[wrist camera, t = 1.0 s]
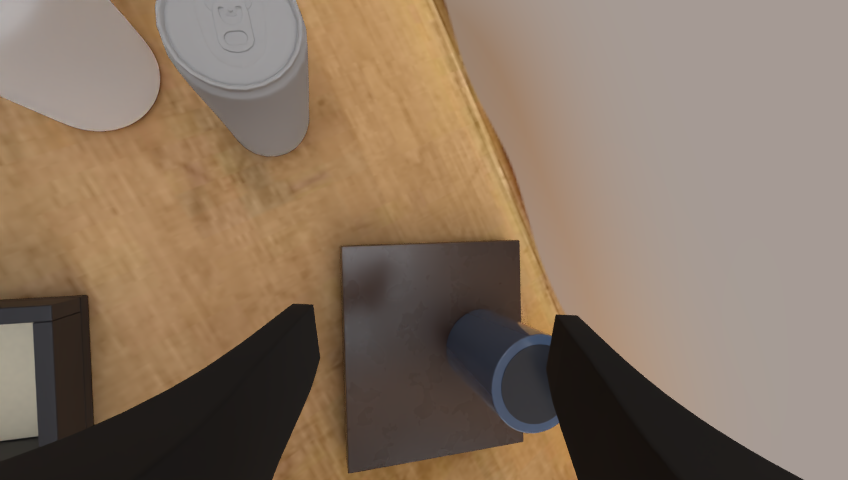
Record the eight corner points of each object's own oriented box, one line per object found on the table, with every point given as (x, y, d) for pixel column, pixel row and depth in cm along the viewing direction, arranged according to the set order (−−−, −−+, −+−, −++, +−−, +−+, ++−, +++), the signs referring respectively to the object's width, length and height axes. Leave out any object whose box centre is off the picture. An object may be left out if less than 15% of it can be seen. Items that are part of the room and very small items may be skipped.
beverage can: (301, 76, 25) (291, -54, 14) (317, 152, 26) (320, 86, 14) (219, 84, 24) (133, -53, 13) (237, 163, 24) (168, 101, 13)
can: (21, 12, 22) (-316, -242, 10) (158, 21, 23) (4, -188, 12) (33, 133, 22) (-284, 21, 10) (168, 133, 23) (26, 37, 12)
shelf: (510, 428, 30) (523, 441, 28) (345, 456, 27) (348, 474, 25) (506, 239, 29) (519, 240, 27) (339, 245, 26) (341, 246, 24)
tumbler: (515, 378, 28) (581, 426, 21) (446, 387, 26) (493, 441, 19) (514, 306, 27) (580, 330, 21) (445, 311, 26) (490, 339, 19)
